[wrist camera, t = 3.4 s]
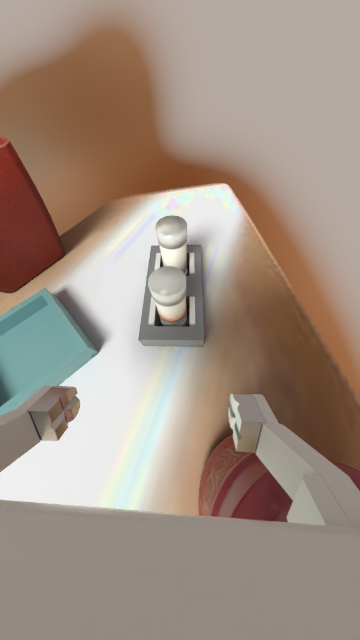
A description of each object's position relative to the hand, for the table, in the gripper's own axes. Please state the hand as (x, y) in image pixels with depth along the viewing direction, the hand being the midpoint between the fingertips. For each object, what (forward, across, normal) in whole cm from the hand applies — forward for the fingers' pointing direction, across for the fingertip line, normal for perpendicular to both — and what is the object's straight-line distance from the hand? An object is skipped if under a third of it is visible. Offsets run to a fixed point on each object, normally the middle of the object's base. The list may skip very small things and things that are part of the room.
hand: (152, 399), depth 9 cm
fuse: (+25, +1, -4) cm, 26 cm away
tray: (+15, +22, +7) cm, 27 cm away
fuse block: (+22, +1, -1) cm, 22 cm away
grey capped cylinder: (+19, 0, +2) cm, 19 cm away
